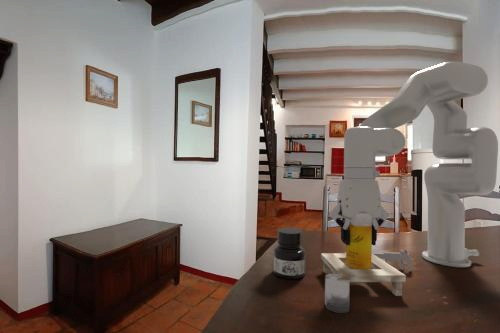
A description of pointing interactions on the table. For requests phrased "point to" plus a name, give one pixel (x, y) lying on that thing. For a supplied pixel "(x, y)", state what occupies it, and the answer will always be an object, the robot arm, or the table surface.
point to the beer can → (360, 242)
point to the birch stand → (364, 271)
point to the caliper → (396, 258)
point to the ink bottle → (289, 254)
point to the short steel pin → (337, 293)
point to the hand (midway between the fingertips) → (358, 243)
